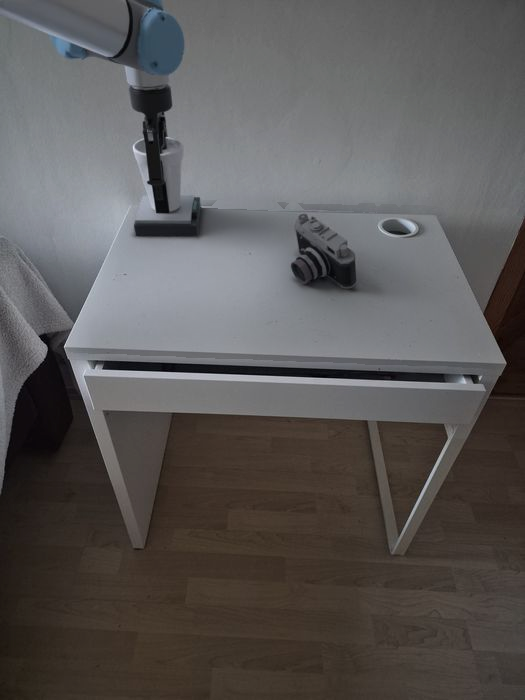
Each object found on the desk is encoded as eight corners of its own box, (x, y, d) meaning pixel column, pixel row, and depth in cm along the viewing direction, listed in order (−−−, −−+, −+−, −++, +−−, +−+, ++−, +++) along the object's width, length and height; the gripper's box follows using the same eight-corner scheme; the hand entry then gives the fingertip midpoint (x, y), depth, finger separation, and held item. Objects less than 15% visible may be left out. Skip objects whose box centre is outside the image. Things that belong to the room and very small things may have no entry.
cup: (195, 212, 96) (190, 150, 87) (150, 222, 92) (139, 158, 83) (180, 193, 102) (174, 133, 93) (137, 201, 99) (126, 140, 89)
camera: (275, 266, 91) (266, 227, 83) (308, 245, 93) (302, 205, 85) (324, 308, 82) (319, 269, 74) (360, 283, 83) (359, 242, 76)
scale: (135, 235, 95) (132, 219, 92) (144, 206, 104) (142, 190, 101) (197, 236, 95) (195, 219, 93) (200, 207, 104) (199, 191, 102)
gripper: (164, 103, 73) (178, 227, 89) (175, 69, 88) (185, 179, 104) (117, 103, 73) (140, 227, 88) (137, 68, 88) (153, 179, 104)
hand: (165, 201), depth 96 cm, fingers open, 9 cm apart
